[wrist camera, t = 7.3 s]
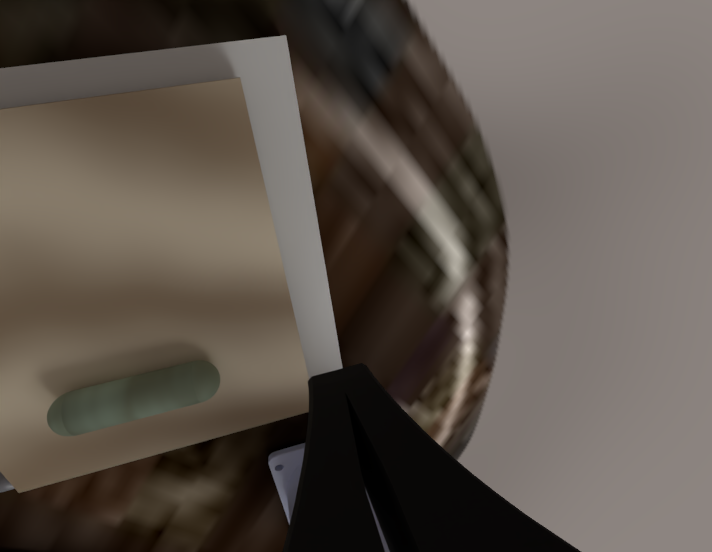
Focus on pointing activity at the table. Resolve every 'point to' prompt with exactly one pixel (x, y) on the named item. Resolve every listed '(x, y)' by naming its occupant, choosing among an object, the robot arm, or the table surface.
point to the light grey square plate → (272, 138)
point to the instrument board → (137, 282)
